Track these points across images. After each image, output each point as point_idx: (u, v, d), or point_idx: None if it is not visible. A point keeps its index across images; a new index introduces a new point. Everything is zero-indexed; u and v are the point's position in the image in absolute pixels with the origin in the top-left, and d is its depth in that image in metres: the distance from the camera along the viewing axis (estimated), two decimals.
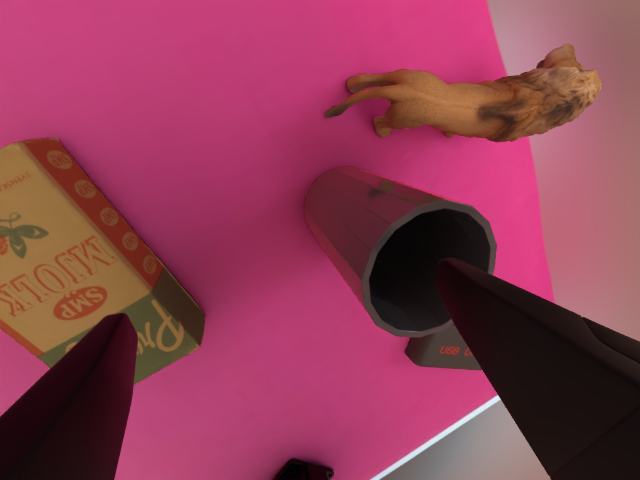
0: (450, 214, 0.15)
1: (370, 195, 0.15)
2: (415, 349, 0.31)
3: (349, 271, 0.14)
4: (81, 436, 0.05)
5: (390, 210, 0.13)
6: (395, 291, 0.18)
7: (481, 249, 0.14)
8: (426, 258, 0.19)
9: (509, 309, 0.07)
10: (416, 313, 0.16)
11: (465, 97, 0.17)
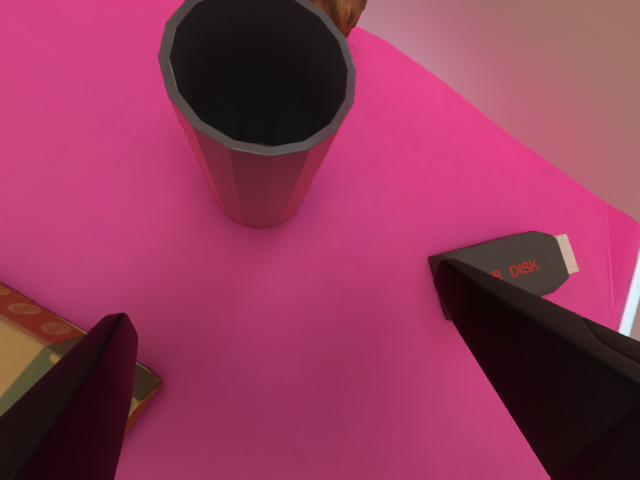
0: (285, 47, 0.13)
1: None
2: None
3: (185, 127, 0.11)
4: (81, 436, 0.05)
5: None
6: None
7: (320, 33, 0.12)
8: None
9: (509, 309, 0.07)
10: None
11: None
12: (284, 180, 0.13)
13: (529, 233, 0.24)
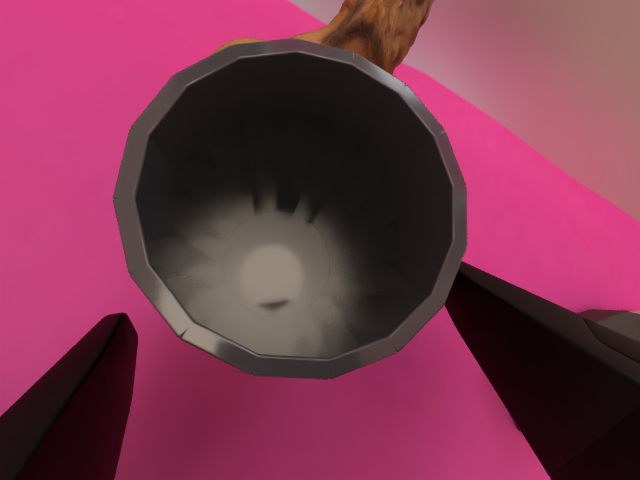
0: (329, 125, 0.09)
1: None
2: None
3: None
4: (81, 436, 0.05)
5: None
6: (353, 308, 0.09)
7: (395, 117, 0.07)
8: (378, 232, 0.11)
9: (509, 309, 0.07)
10: (382, 312, 0.07)
11: None
12: None
13: (620, 315, 0.19)
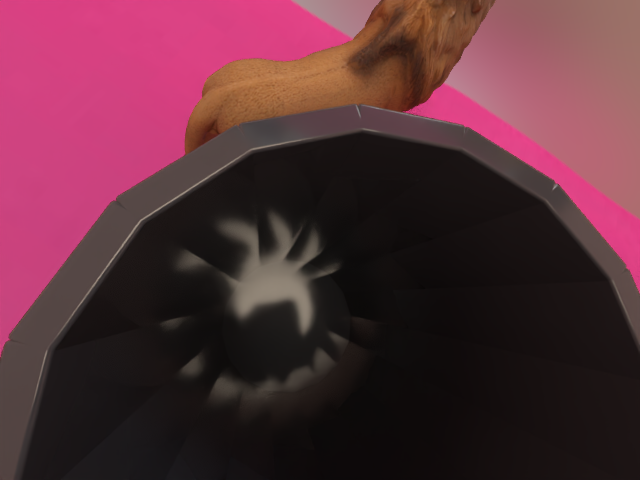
0: (383, 209, 0.06)
1: None
2: None
3: None
4: None
5: None
6: (414, 473, 0.06)
7: (522, 230, 0.04)
8: (437, 336, 0.08)
9: None
10: None
11: (314, 61, 0.10)
12: None
13: None
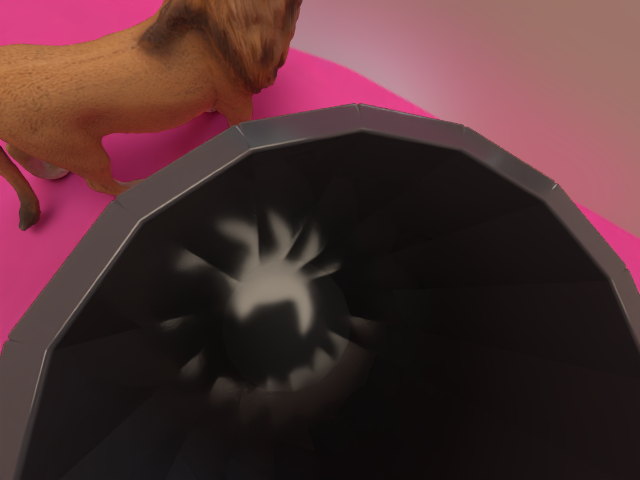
0: (382, 208, 0.06)
1: None
2: None
3: None
4: None
5: None
6: (414, 473, 0.06)
7: (522, 229, 0.04)
8: (437, 336, 0.08)
9: None
10: None
11: (97, 43, 0.09)
12: None
13: None
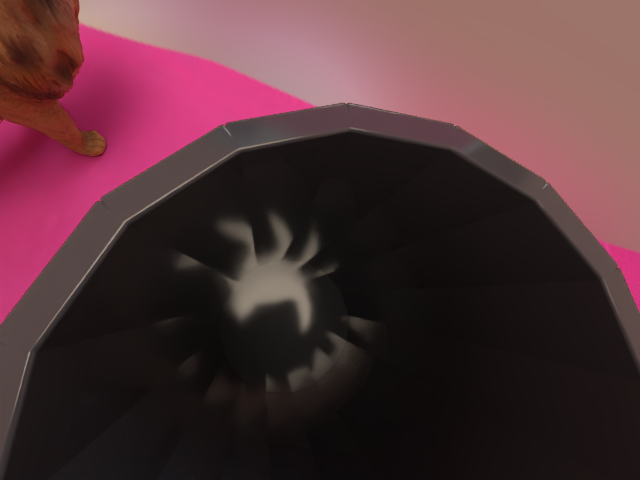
0: (376, 208, 0.06)
1: None
2: None
3: None
4: None
5: None
6: (409, 473, 0.06)
7: (514, 229, 0.04)
8: (433, 336, 0.08)
9: None
10: None
11: None
12: None
13: None
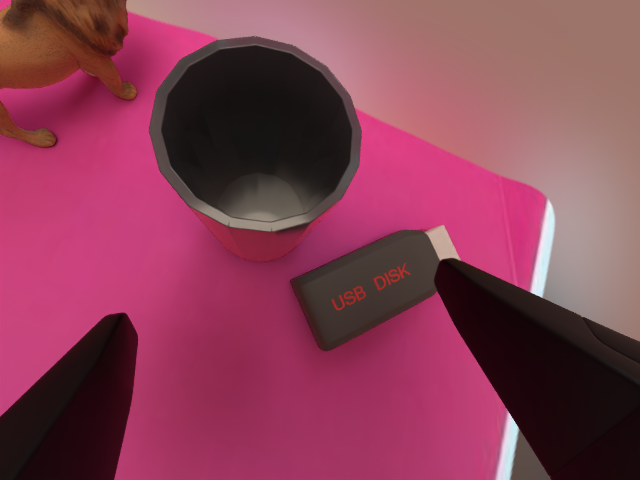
0: (285, 95, 0.13)
1: None
2: (314, 332, 0.20)
3: None
4: (81, 436, 0.05)
5: None
6: None
7: (322, 87, 0.11)
8: (326, 176, 0.15)
9: (509, 309, 0.07)
10: None
11: None
12: (286, 239, 0.12)
13: (397, 234, 0.21)
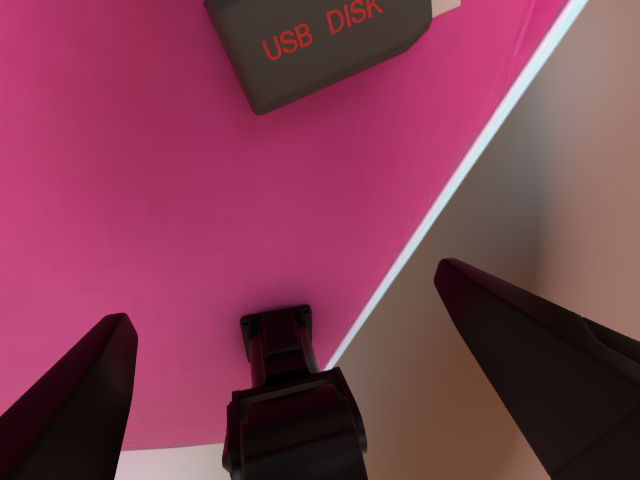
0: None
1: None
2: (243, 89, 0.16)
3: None
4: (81, 436, 0.05)
5: None
6: None
7: None
8: None
9: (509, 309, 0.07)
10: None
11: None
12: None
13: None
